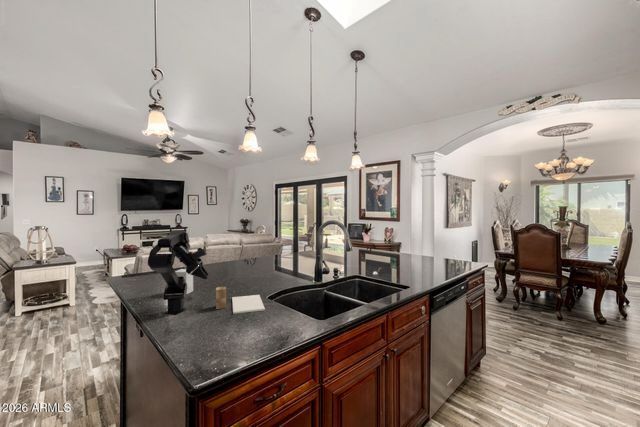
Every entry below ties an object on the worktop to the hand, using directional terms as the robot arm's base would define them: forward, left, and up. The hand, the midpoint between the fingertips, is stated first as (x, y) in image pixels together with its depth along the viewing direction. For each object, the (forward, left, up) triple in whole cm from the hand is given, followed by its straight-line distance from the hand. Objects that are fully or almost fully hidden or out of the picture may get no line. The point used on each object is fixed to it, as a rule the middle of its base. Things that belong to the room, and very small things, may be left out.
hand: (207, 276), depth 135 cm
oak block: (-1, -8, -14) cm, 16 cm away
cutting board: (+5, -19, -14) cm, 24 cm away
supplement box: (+15, +25, -14) cm, 32 cm away
